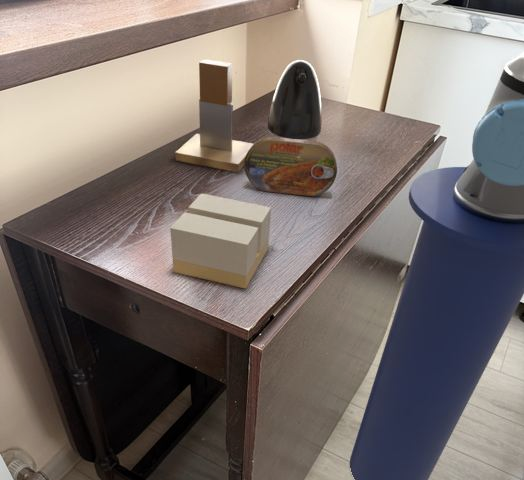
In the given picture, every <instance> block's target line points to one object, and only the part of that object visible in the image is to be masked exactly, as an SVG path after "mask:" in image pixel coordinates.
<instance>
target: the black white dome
mask: <svg viewBox="0 0 524 480" xmlns="http://www.w3.org/2000/svg"><path fill="white" fill-rule="evenodd" d="M321 98H322V97H321V90H320V84H319V81H318V76H317V74H316V71H315V69H314V67H313V66H312V65H311V63H309V62H308V61H306V60H302V59H301V60H300V59H297V60H294V61H292V62H290V63H289V64H288V65H287V66H286V68H285V70H284V71H283V73H282V75H281V76H280V79H279V80H278V83H277V86H276V89H275V92H274V94H273V97H272V101H271V105H270V109H269V113H268V118H267V119H268V120H267V130H268V131H269V137H278V138H288V139H298V140H308V141H318V138H319V135H320V134H321V133H322V126H323V108H322V99H321Z"/></svg>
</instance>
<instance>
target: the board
mask: <svg viewBox="0 0 524 480" xmlns="http://www.w3.org/2000/svg"><path fill="white" fill-rule="evenodd" d="M253 144H254V143H252V142H246V141H241V140H235V139H232V151H226V150H220V149H215V148H209V147H204V146H200V133H195V134H194V135H193V136H192V137H191V138H190V139H188V140H187V141H186V142H185V143H184V144H183V145H182V146H181V147H180V148H179V149H178V150H176V151H175V152H174V155H175V157H174V158H175V161H176V162H182V163H187V164H192V165H198V166H202V167H203V166H204V167H209V168H213V169H217V170H224V171H229V172H235V173H240V171H241V170H242V169H243V168H244V161H245V157H246V154H247V152H248V151H249V149H250V148H251V147H252V145H253Z"/></svg>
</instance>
